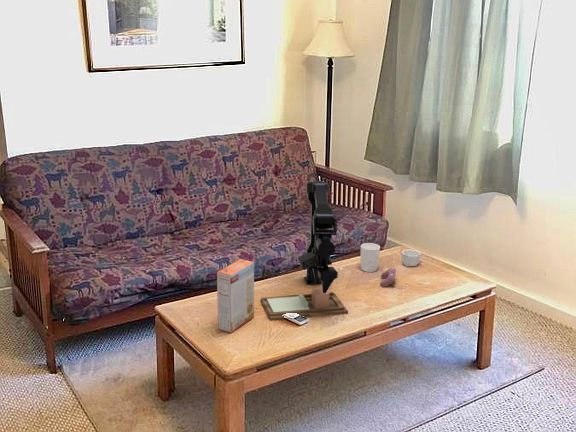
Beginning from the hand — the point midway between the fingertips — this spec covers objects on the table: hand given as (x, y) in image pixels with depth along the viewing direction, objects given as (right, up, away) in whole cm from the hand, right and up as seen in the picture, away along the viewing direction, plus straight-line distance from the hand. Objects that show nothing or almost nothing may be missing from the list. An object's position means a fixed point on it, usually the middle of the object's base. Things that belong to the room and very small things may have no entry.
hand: (320, 287), depth 244 cm
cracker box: (-29, -11, -13) cm, 34 cm away
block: (0, -7, +2) cm, 7 cm away
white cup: (+22, +4, +37) cm, 43 cm away
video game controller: (+27, -1, +24) cm, 37 cm away
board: (-6, -7, +1) cm, 9 cm away
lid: (-12, -6, -1) cm, 13 cm away
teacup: (+40, +5, +44) cm, 60 cm away
